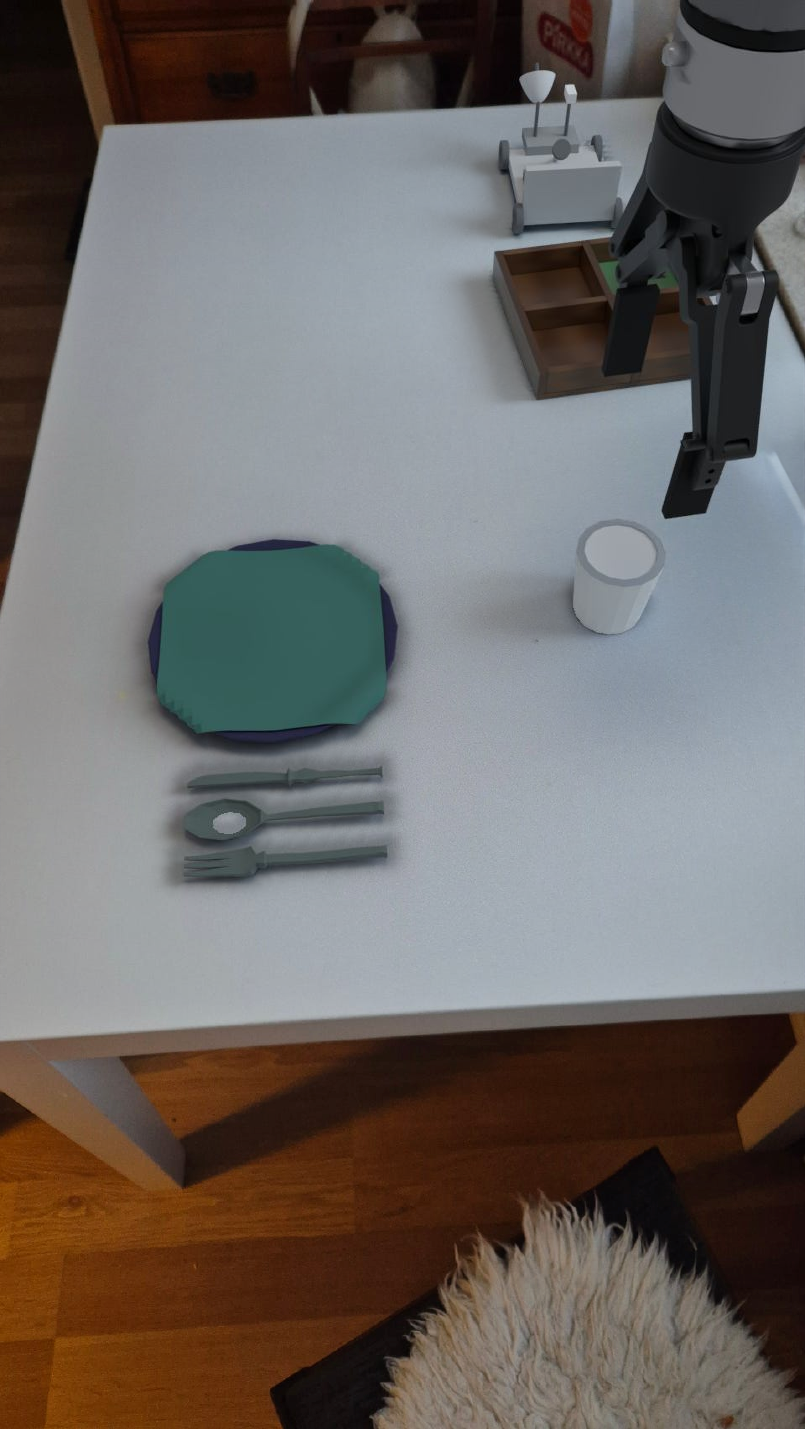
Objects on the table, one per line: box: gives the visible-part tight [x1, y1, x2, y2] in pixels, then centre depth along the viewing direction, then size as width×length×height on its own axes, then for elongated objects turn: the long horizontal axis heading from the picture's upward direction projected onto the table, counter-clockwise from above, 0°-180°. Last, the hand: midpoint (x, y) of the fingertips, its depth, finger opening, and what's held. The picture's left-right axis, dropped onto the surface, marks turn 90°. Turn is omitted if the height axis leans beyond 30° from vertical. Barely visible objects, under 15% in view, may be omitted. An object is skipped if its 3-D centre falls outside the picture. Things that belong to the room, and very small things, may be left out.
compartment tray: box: [492, 236, 714, 401], centre depth 101 cm, size 19×19×3 cm
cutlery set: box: [147, 538, 399, 878], centre depth 78 cm, size 20×30×2 cm, turn 4°
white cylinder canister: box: [572, 518, 667, 636], centre depth 80 cm, size 7×7×7 cm
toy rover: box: [498, 62, 624, 235], centre depth 111 cm, size 18×10×12 cm
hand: (650, 438), depth 68 cm, fingers open, 13 cm apart
